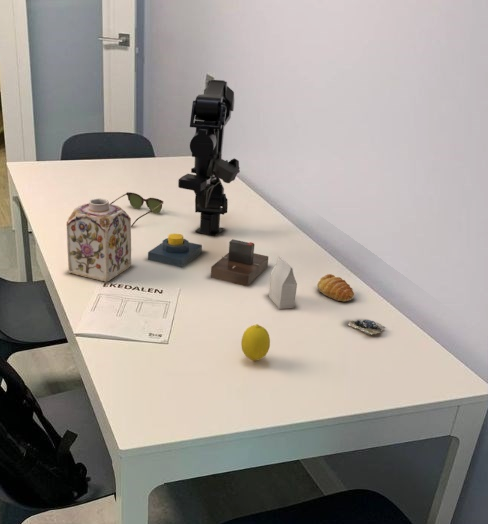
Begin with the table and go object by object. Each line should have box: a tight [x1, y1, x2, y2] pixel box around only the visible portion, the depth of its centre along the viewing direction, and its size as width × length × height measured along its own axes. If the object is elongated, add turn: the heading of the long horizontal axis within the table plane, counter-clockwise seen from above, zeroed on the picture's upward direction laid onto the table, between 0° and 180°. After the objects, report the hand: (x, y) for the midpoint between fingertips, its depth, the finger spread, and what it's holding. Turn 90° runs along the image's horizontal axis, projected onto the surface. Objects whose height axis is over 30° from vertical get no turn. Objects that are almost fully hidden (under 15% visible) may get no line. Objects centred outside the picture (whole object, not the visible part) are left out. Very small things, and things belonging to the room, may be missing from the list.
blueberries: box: [347, 319, 387, 335], centre depth 146 cm, size 7×8×2 cm
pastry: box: [316, 273, 355, 302], centre depth 161 cm, size 9×7×4 cm
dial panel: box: [210, 252, 269, 287], centre depth 170 cm, size 14×10×3 cm
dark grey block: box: [228, 238, 255, 265], centre depth 169 cm, size 6×2×5 cm, turn 65°
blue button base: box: [147, 237, 203, 268], centre depth 178 cm, size 12×10×4 cm
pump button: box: [167, 233, 184, 245], centre depth 177 cm, size 4×4×2 cm
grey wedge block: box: [268, 256, 298, 310], centre depth 155 cm, size 4×7×10 cm, turn 16°
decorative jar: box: [66, 198, 132, 283], centre depth 165 cm, size 12×12×18 cm
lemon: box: [240, 324, 271, 362], centre depth 131 cm, size 6×6×8 cm
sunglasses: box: [109, 191, 164, 228], centre depth 205 cm, size 14×15×5 cm
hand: (203, 207), depth 176 cm, fingers closed
